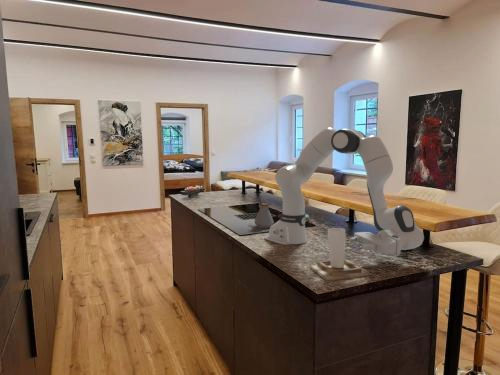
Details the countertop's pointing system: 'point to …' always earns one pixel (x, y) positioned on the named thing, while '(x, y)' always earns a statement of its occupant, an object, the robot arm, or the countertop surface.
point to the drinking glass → (336, 246)
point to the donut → (306, 218)
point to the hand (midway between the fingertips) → (356, 244)
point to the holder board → (338, 270)
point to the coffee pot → (264, 216)
